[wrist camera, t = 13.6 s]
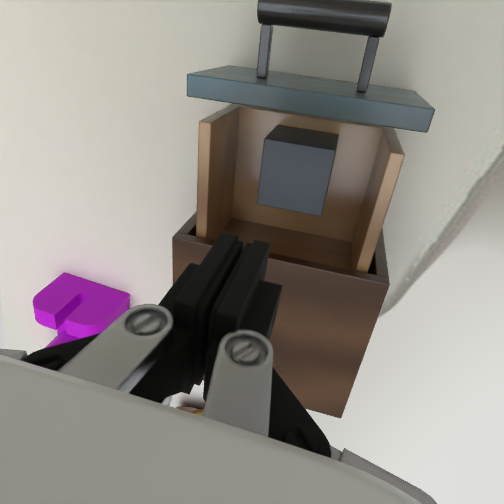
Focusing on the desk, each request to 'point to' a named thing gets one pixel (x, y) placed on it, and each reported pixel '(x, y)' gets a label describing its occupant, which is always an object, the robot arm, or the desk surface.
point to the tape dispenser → (78, 307)
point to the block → (296, 169)
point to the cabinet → (311, 318)
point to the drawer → (313, 118)
